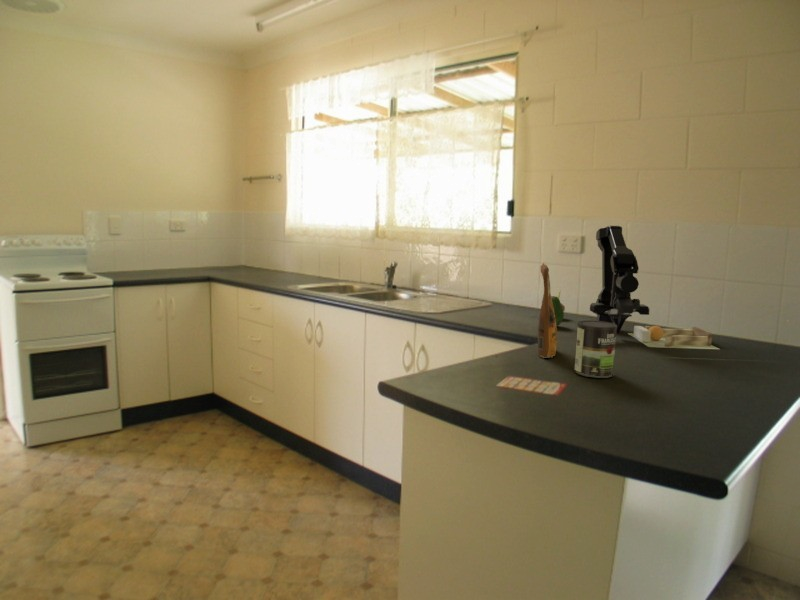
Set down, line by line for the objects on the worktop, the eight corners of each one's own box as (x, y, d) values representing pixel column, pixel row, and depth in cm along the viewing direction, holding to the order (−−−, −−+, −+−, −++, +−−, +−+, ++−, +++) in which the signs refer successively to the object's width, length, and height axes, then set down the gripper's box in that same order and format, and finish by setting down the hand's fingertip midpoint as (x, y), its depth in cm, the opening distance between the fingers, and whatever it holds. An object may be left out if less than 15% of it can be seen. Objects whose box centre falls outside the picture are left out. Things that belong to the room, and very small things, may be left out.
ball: (650, 341, 199) (651, 327, 198) (644, 338, 204) (646, 324, 203) (665, 341, 199) (666, 327, 198) (659, 338, 204) (660, 324, 203)
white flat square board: (648, 348, 191) (648, 346, 191) (626, 334, 213) (626, 332, 213) (720, 350, 190) (720, 349, 190) (690, 336, 211) (691, 335, 211)
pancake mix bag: (531, 359, 173) (537, 266, 169) (536, 345, 191) (541, 261, 187) (555, 361, 171) (561, 267, 167) (557, 347, 189) (562, 262, 185)
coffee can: (621, 376, 157) (625, 325, 155) (593, 381, 152) (597, 328, 150) (593, 367, 166) (596, 319, 164) (565, 371, 161) (569, 321, 159)
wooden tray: (665, 346, 191) (666, 335, 191) (643, 333, 212) (644, 323, 211) (716, 348, 190) (718, 336, 190) (689, 335, 211) (690, 324, 210)
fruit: (565, 329, 220) (567, 297, 218) (544, 328, 220) (546, 297, 218) (560, 325, 228) (562, 294, 226) (540, 324, 228) (541, 294, 226)
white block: (642, 341, 197) (643, 331, 197) (633, 335, 206) (634, 325, 206) (649, 341, 197) (650, 331, 196) (640, 336, 206) (641, 325, 206)
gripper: (599, 291, 192) (596, 337, 194) (657, 292, 191) (653, 339, 193) (591, 286, 203) (587, 330, 205) (645, 288, 202) (641, 332, 204)
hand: (617, 333), depth 202 cm, fingers closed
